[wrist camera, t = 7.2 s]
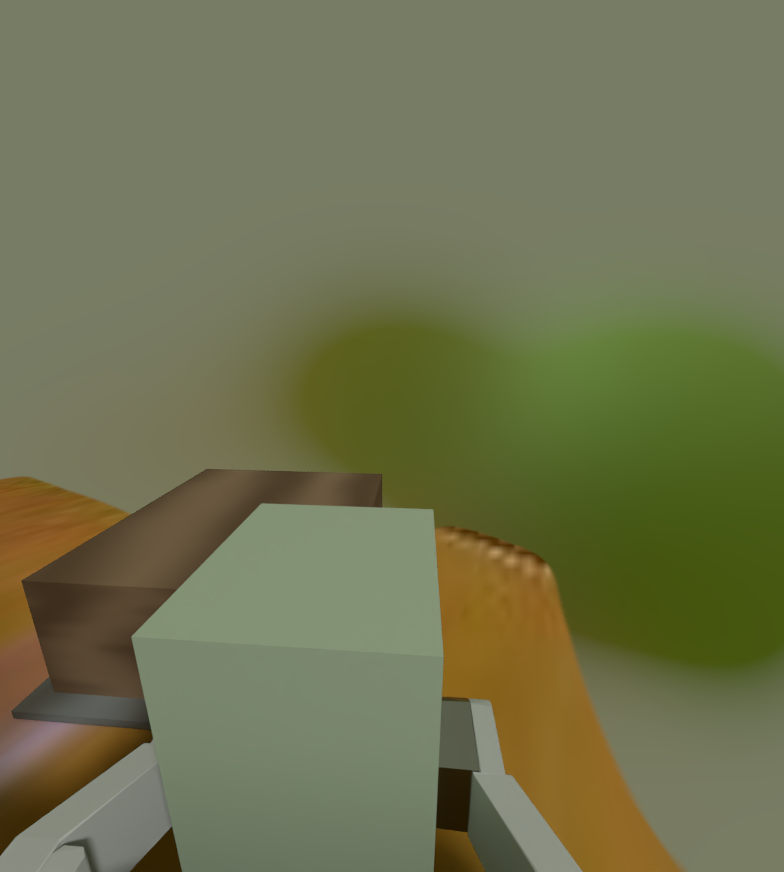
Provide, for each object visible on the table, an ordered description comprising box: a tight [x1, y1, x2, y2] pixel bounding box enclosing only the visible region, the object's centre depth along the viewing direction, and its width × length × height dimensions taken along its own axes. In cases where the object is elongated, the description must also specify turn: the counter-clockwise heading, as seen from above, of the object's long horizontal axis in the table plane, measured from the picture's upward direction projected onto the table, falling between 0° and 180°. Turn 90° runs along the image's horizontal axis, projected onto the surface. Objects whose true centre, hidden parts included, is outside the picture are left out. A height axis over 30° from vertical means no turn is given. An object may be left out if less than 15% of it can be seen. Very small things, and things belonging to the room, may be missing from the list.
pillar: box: [131, 503, 444, 872], centre depth 9 cm, size 4×4×12 cm
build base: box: [11, 469, 382, 730], centre depth 23 cm, size 16×16×6 cm
